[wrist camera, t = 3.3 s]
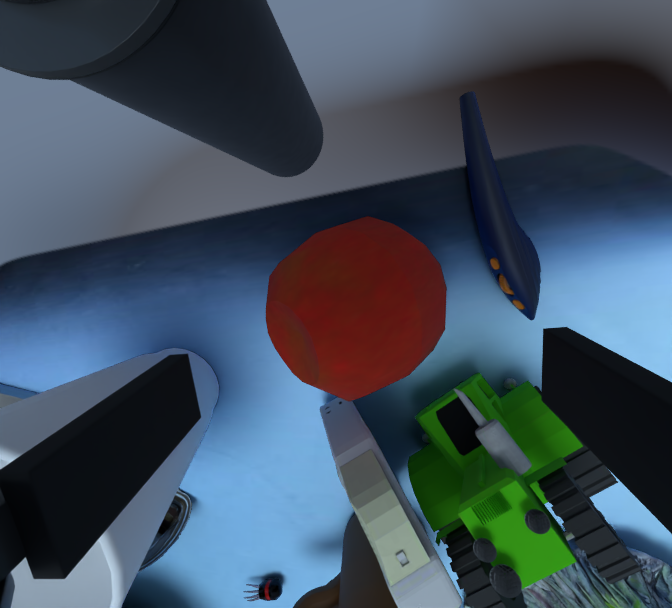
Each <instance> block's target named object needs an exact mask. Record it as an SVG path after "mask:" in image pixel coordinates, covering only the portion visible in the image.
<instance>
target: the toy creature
mask: <svg viewBox="0 0 672 608" xmlns="http://www.w3.org/2000/svg"><path fill="white" fill-rule="evenodd" d="M246 585H249V586H253V587H256V588H259V590H254V591H243V592H249V593H259V594H257V595H254V596H251V597H245V598H255V597H257V598H255V599H252V600H247V601H254V600H258V599H263V600H266V601H270V600H277V599H278V598H279V597H280V596H281V594H282V583H281V581H280V580H279V579H278V578H273V579H266V580H265V581H263V582H262V583H261V584H260V585H259V586H258V585H252V584H246Z"/></svg>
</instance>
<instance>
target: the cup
mask: <svg viewBox="0 0 672 608" xmlns="http://www.w3.org/2000/svg"><path fill="white" fill-rule="evenodd" d="M175 354H188V356H189V361H190V365H191V370H192V375H193V380H194V385H195V389H196V394H197V399H198V404H199V409H200V413H201V418H200V419H199V421H198V422H197V423H196V424H195V425H194V427H193V428H192V429H191V430H190V431H189V432H188V434H187V435H186V436H185V437H184V438H183V440H182V441H181V442H180V443H179V444H178V446H177V447H176V448H175V449H174V450H173V451H172V453H171V454H170V455H169V456H168V457H167V459H166V460H165V461H164V462H163V463H162V464H161V466H160V467H159V468H158V469H157V470H156V472H155V473H154V474H153V475H152V476H151V478H150V479H149V480H148V481H147V482H146V483H145V485H144V486H143V487H142V488H141V489H140V491H139V492H138V493H137V494H136V495H135V497H134V498H133V499H132V500H131V501H130V502H129V504H128V505H127V506H126V507H125V508H124V510H123V511H122V512H121V513H120V514H119V515H118V517H117V518H116V519H115V520H114V521H113V523H112V524H111V525H110V526H109V527H108V529H107V530H106V531H105V532H104V533H103V534H102V536H101V537H100V538H99V539H98V540H97V542H96V543H95V544H94V545H93V546H92V548H91V549H90V550H89V551H88V552H87V553H86V555H85V556H84V557H83V558H82V559H81V561H80V562H79V563H78V564H77V565H76V566H75V568H74V569H73V570H72V571H71V572H70V574H69V575H68V576H67V577H66V578H65V579H34V578H33V576H32V573H31V570H30V568H29V565H28V562H27V559H26V557H25V558H24V559H23V560H22V561H21V562H20V563H19V564H18V565H17V566H16V567H15V568H14V569H13V570H12V571H11V574H12V576H13V579H14V583H15V590H14V594H13V599H12V604H11V608H122V604H123V602H124V599H125V597H126V595H127V593H128V591H129V589H130V587H131V585H132V583H133V581H134V579H135V577H136V575H137V573H138V571H139V569H140V566H141V564H142V562H143V560H144V558H145V556H146V554H147V552H148V550H149V548H150V546H151V544H152V542H153V540H154V538H155V536H156V534H157V531H158V529H159V527H160V525H161V523H162V521H163V519H164V517H165V515H166V513H167V511H168V509H169V507H170V505H171V503H172V501H173V498H174V496H175V494H176V492H177V490H178V488H179V486H180V484H181V482H182V480H183V478H184V476H185V474H186V472H187V470H188V468H189V465H190V463H191V461H192V459H193V457H194V455H195V453H196V451H197V449H198V447H199V445H200V443H201V441H202V439H203V437H204V435H205V432H206V430H207V428H208V426H209V424H210V421H211V418H212V413H213V409H214V407H215V405H216V403H217V400H218V397H219V385H218V380H217V377H216V375H215V373H214V371H213V369H212V367H211V366H210V365H209V364H208V363H207V362H206V361H205V360H204V359H203V358H201V357H200V356H198V355H197V354H196V353H193V352H191V351H188V350H186V349H179V348H170V349H164V350H162V351H159V352H157V353H151V354H143V355H140V356H137V357H135V358H132V359H129V360H127V361H124V362H121V363H119V364H116V365H113V366H111V367H108V368H106V369H103V370H100V371H98V372H95V373H92V374H90V375H87V376H84V377H82V378H79V379H76V380H74V381H71V382H69V383H66V384H63V385H61V386H58V387H55V388H53V389H50V390H47V391H45V392H42V393H39V394H37V395H34V396H31V397H29V398H26V399H24V400H21V401H18V402H16V403H13V404H10V405H8V406H5V407H2V408H0V469H2V468H3V467H5V466H6V465H8V464H9V463H11V462H12V461H13V460H15V459H16V458H18V457H19V456H21V455H22V454H24V453H25V452H27V451H28V450H30V449H31V448H33V447H34V446H36V445H37V444H39V443H40V442H42V441H43V440H45V439H46V438H47V437H49V436H50V435H52V434H53V433H55V432H56V431H58V430H59V429H61V428H62V427H64V426H65V425H67V424H68V423H70V422H71V421H73V420H74V419H76V418H77V417H78V416H80V415H81V414H83V413H84V412H86V411H87V410H89V409H90V408H92V407H93V406H95V405H96V404H98V403H99V402H101V401H102V400H104V399H105V398H107V397H108V396H109V395H111V394H112V393H114V392H115V391H117V390H118V389H120V388H121V387H123V386H124V385H126V384H127V383H129V382H130V381H132V380H133V379H135V378H136V377H138V376H139V375H141V374H142V373H143V372H145V371H146V370H148V369H149V368H151V367H152V366H154V365H155V364H157V363H158V362H160V361H161V360H163V359H164V358H166V357H167V356H169V355H175Z"/></svg>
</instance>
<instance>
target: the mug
mask: <svg viewBox="0 0 672 608" xmlns="http://www.w3.org/2000/svg"><path fill="white" fill-rule="evenodd" d="M418 520H419V519H418ZM419 522H420V520H419ZM420 524H421V525H422V527H423V529H424V531H425V533H426V530H425V528H424V526H423V524H422V523H421V522H420ZM426 534H427V533H426ZM427 536H428V535H427ZM293 608H398V607H397V605H396V603H395V601H394V599H393V597H392V595H391V592H390V590H389V588H388V586H387V583H386V580H385V578H384V575H383V572H382V570H381V567H380V564H379V562H378V559H377V557H376V555H375V553H374V551H373V548H372V546H371V544H370V542H369V540H368V538H367V536H366V534H365V532H364V530H363V528H362V526H361V524H360V521H359V519H358V517H357V515H356V514H355V515H354V516H353V517H352V518H351V520H350V521H349V523H348V524H347V527H346V530H345V534H344V540H343V553H342V566H341V572H340V573H339V574H338V575H337V576H336V577H335V578H334V579H333V580H331V581H330V582H329V583H328V584H327V585H325V586H321V587H318V588H315V589H313V590H311V591H309V592H307V593H306V594H305V595H303V596H302V597H301V598H300V599H299V600H298V601H297V602H296V604H295V605H294V607H293Z"/></svg>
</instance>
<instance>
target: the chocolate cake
mask: <svg viewBox="0 0 672 608" xmlns="http://www.w3.org/2000/svg"><path fill="white" fill-rule="evenodd" d="M191 507H192V502H191V501H190V499H189V497H188V495H186V494H185V493H183V492H181V491H180V490H179V489H178V490H177V492H176V494H175V496H174V498H173V501H172V503H171V505H170V507H169V509H168V511H167V513H166V515H165V517H164V519H163V521H162V523H161V525H160V527H159V529H158V531H157V534H156V536H155V538H154V540H153V542H152V544H151V546H150V548H149V550H148V552H147V554H146V556H145V558H144V560H143V562H142V564H141V566H140V569H139V571H138V573H139V572H141V571H142V570H143V569H145V568H146V567H148V566H150V565H151V564H153V563H154V562H155V561H157V560H158V559H159V558H161V557H162V556H163V555H164V554H165V553H166V552H167V551H168V549H169V548H170V547H171V546H172V545H173V544H174V543H175V542H176V541H177V540H178V538H179V535H181V532H182V531H183V530H184V528H185V526H186V524H187V522H188V520H189V518H190V513H191V510H192V508H191ZM138 573H137V574H138Z"/></svg>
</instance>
